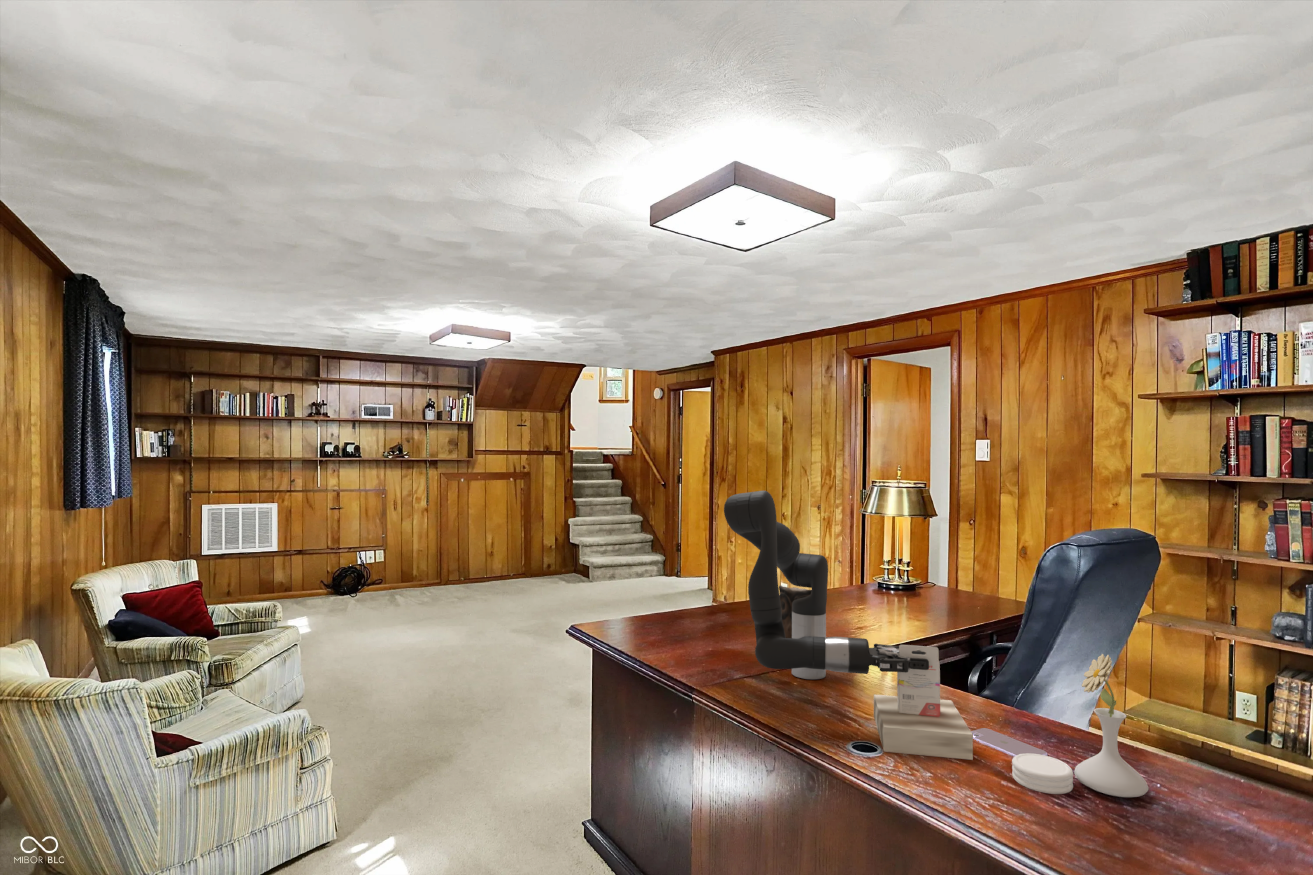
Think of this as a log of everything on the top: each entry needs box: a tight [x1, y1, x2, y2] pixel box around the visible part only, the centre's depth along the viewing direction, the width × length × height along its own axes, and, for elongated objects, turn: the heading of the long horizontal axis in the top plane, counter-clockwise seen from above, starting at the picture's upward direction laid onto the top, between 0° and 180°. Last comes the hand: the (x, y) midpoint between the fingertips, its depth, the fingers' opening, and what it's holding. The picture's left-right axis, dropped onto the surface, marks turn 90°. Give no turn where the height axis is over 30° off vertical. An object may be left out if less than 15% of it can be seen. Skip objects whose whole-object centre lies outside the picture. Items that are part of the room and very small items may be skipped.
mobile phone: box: [970, 727, 1048, 758], centre depth 146 cm, size 8×1×15 cm
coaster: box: [1011, 753, 1074, 795], centre depth 130 cm, size 10×10×4 cm
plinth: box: [873, 694, 974, 761], centre depth 150 cm, size 20×17×5 cm
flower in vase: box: [1073, 653, 1149, 798], centre depth 127 cm, size 13×11×25 cm
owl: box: [778, 584, 812, 638], centre depth 215 cm, size 13×13×20 cm
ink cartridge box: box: [896, 644, 941, 717], centre depth 151 cm, size 9×5×15 cm, turn 74°
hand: (925, 660), depth 151 cm, fingers open, 5 cm apart
